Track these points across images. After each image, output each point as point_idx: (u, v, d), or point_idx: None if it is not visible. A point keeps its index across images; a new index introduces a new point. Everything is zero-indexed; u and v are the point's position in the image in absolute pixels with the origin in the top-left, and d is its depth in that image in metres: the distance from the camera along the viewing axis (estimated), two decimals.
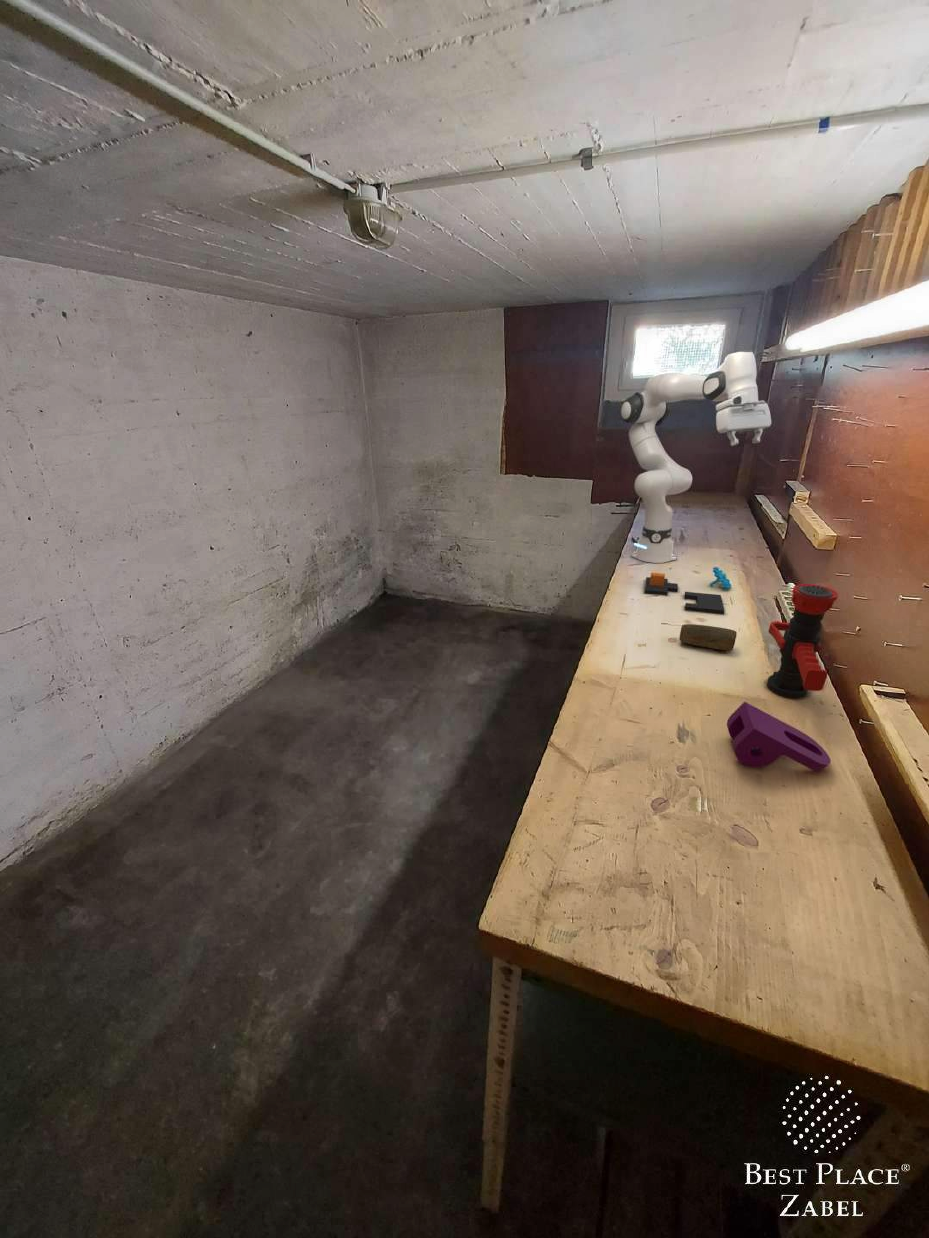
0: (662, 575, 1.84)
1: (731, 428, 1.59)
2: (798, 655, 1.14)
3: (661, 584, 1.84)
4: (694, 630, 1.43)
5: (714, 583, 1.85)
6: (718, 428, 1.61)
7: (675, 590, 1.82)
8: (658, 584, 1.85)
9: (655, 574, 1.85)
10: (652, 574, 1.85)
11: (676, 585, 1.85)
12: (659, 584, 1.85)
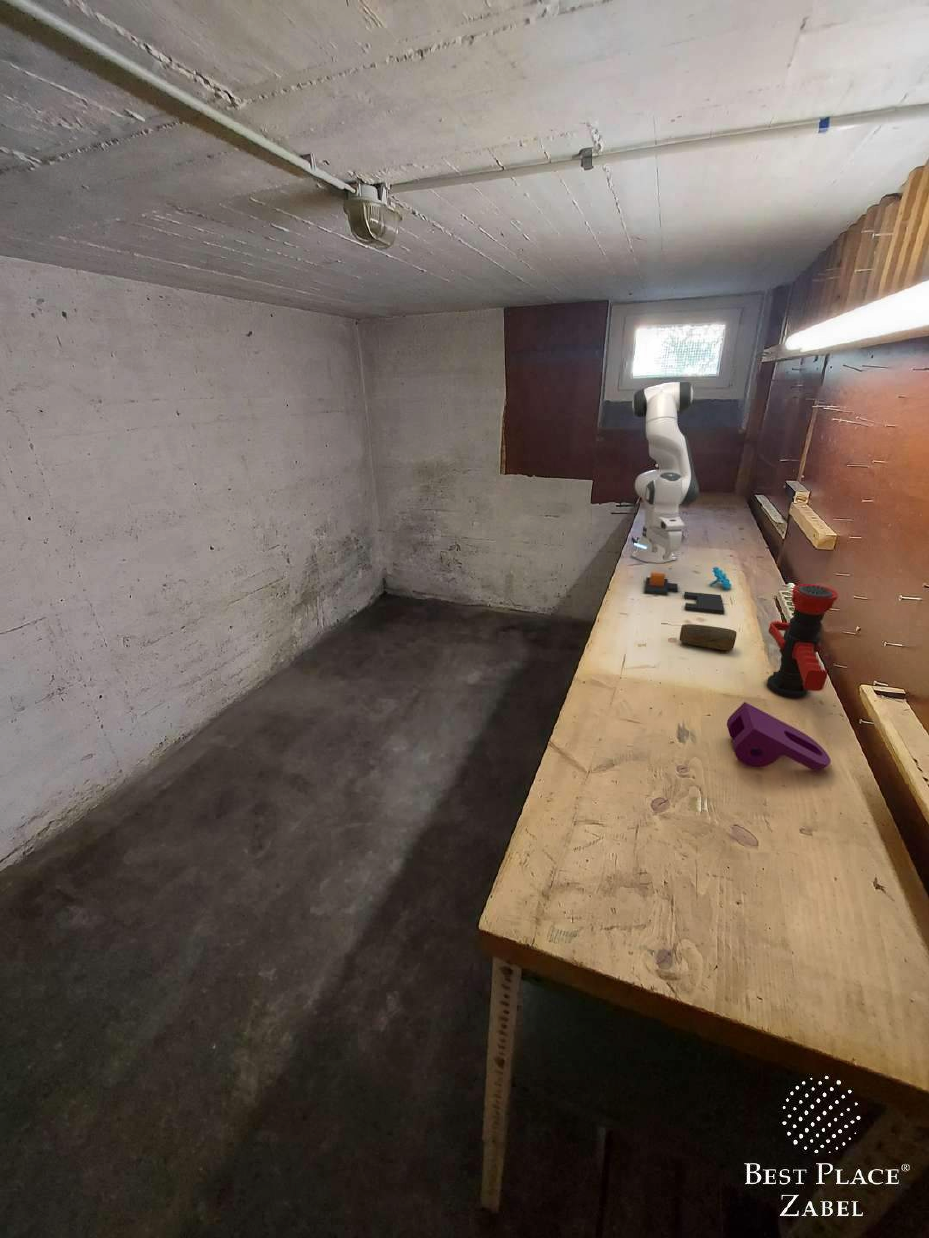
0: (662, 575, 1.84)
1: None
2: (798, 655, 1.14)
3: (661, 584, 1.84)
4: (694, 630, 1.43)
5: (714, 583, 1.85)
6: (672, 548, 1.70)
7: (675, 590, 1.82)
8: (658, 584, 1.85)
9: (655, 574, 1.85)
10: (652, 574, 1.85)
11: (676, 585, 1.85)
12: (659, 584, 1.85)
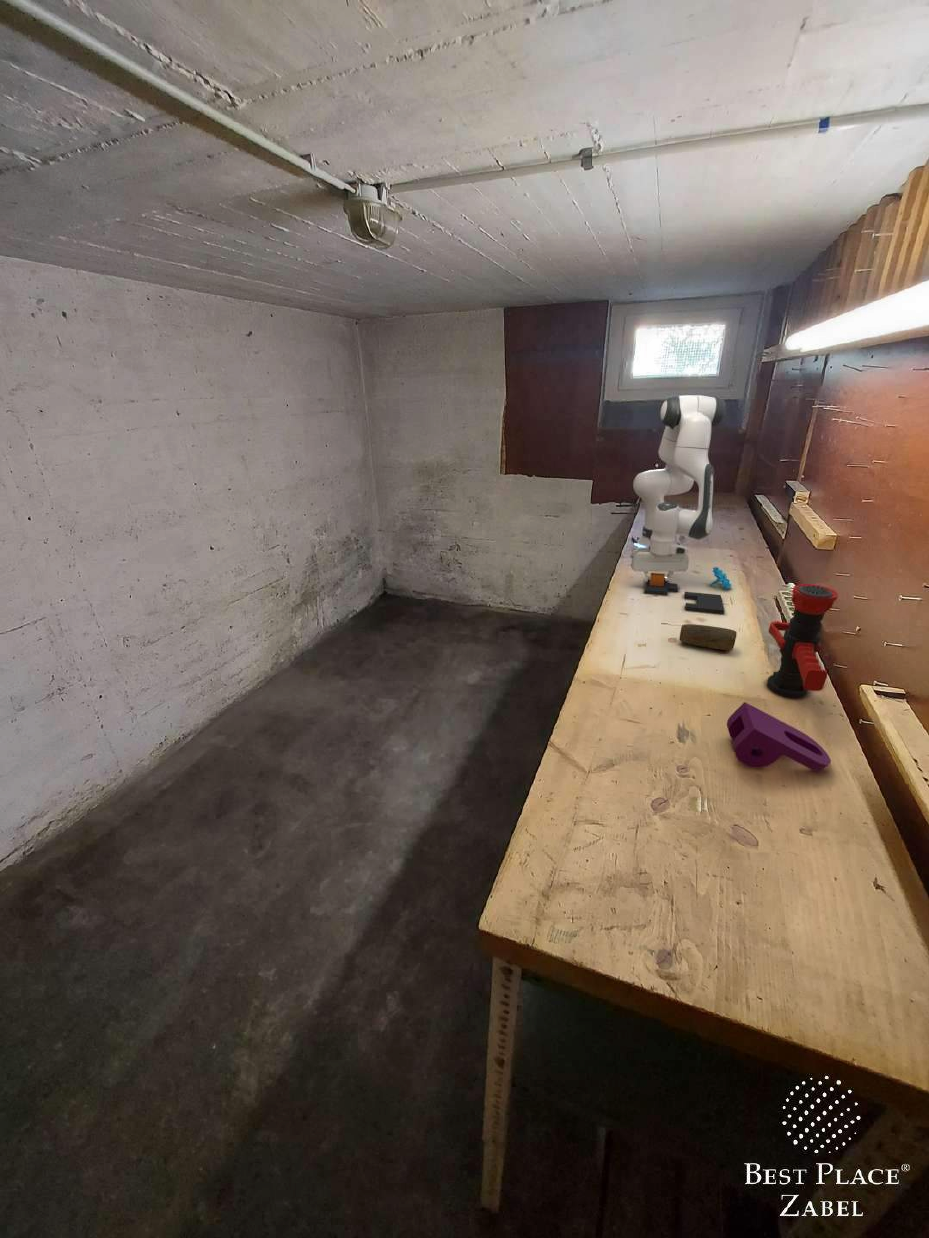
0: (662, 575, 1.84)
1: None
2: (798, 655, 1.14)
3: (661, 584, 1.84)
4: (694, 630, 1.43)
5: (714, 583, 1.85)
6: None
7: (675, 590, 1.82)
8: (658, 584, 1.85)
9: (655, 574, 1.85)
10: (652, 574, 1.85)
11: (676, 585, 1.85)
12: (659, 584, 1.85)
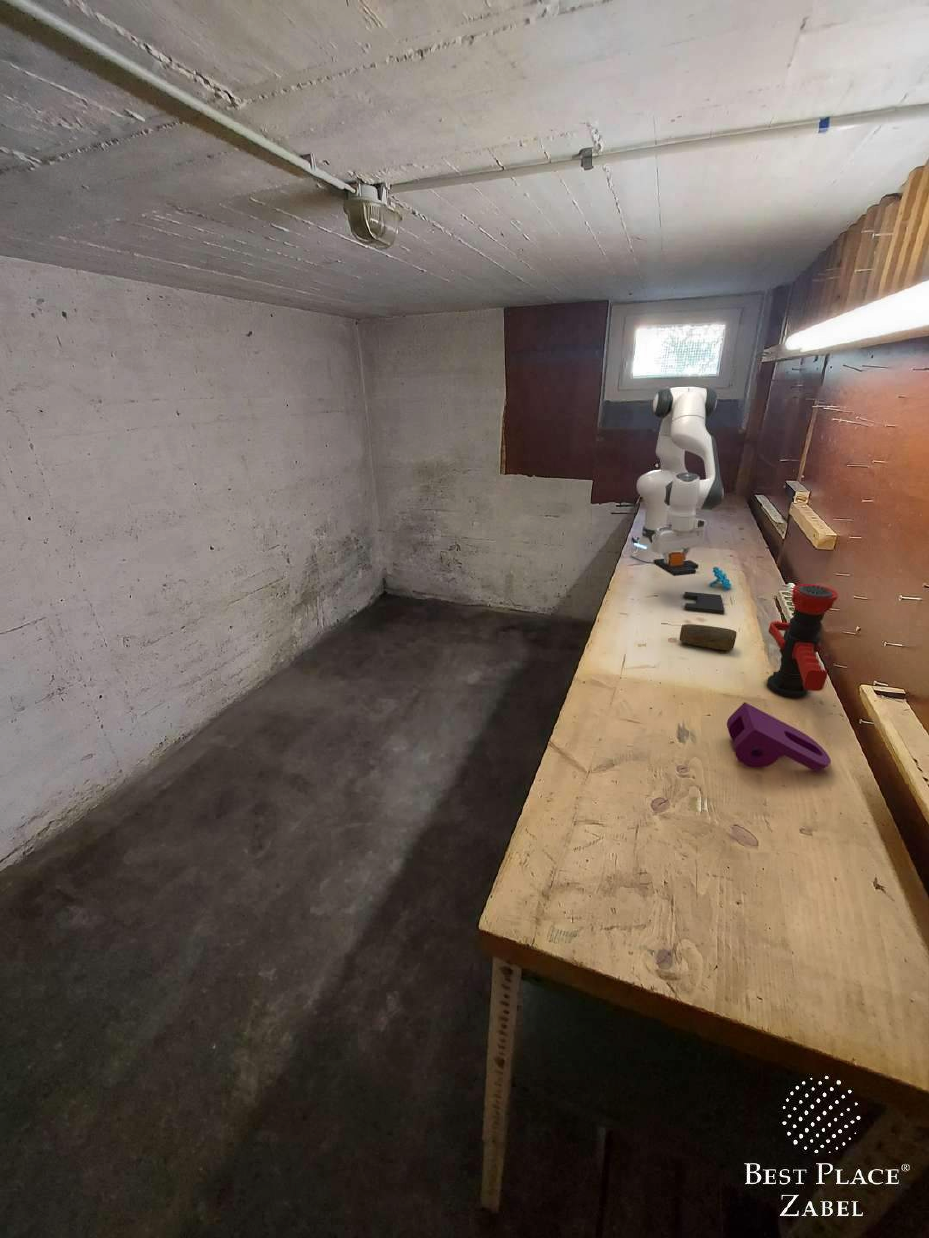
0: (681, 553, 1.69)
1: None
2: (798, 655, 1.14)
3: (681, 563, 1.70)
4: (694, 630, 1.43)
5: (714, 583, 1.85)
6: None
7: (696, 567, 1.70)
8: (678, 564, 1.69)
9: (673, 554, 1.69)
10: (671, 554, 1.69)
11: (692, 562, 1.72)
12: (679, 564, 1.69)
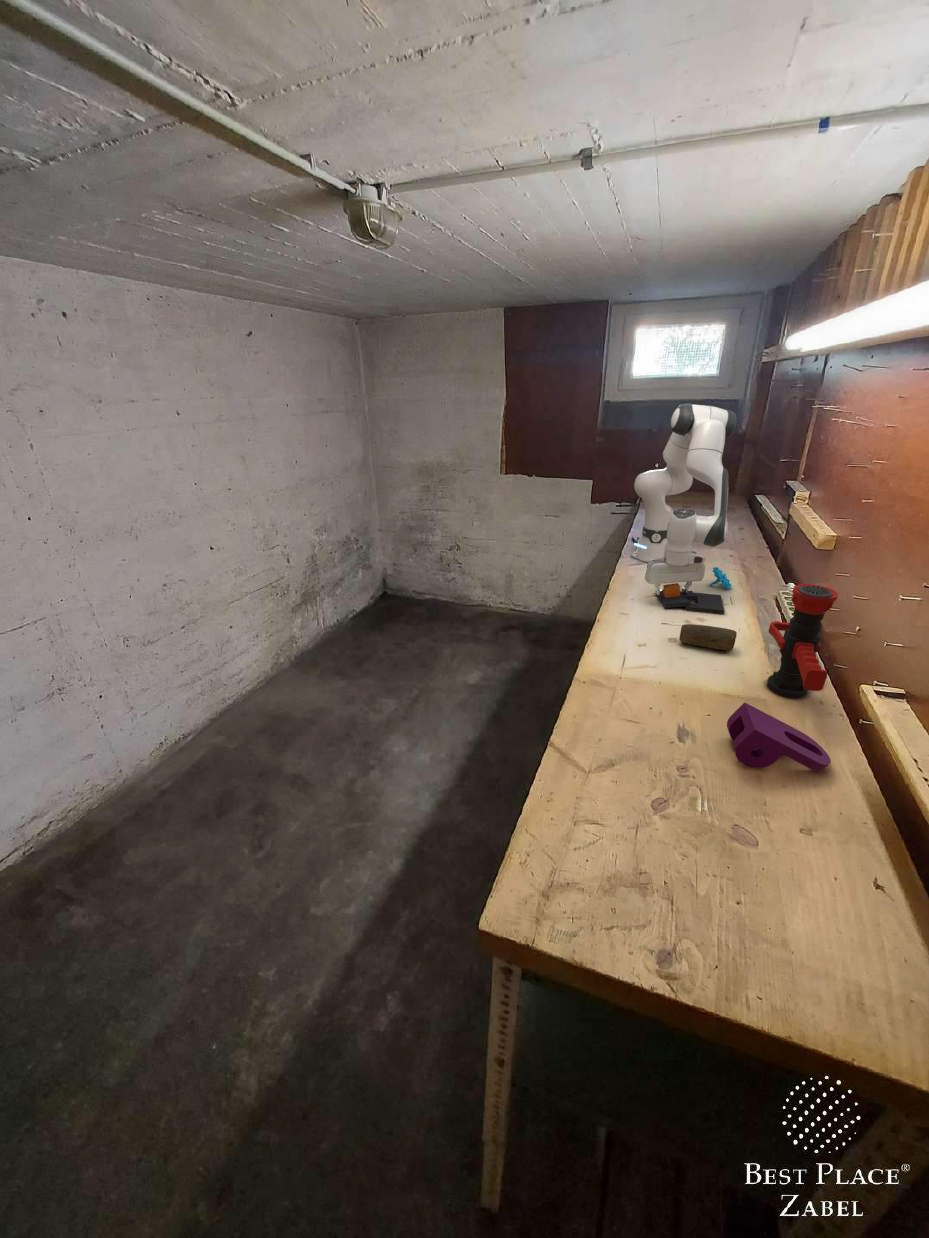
0: (676, 585, 1.72)
1: None
2: (798, 655, 1.14)
3: (677, 594, 1.72)
4: (694, 630, 1.43)
5: (714, 583, 1.85)
6: None
7: (694, 598, 1.71)
8: (674, 595, 1.73)
9: (669, 585, 1.73)
10: (666, 586, 1.73)
11: (692, 592, 1.73)
12: (675, 595, 1.73)
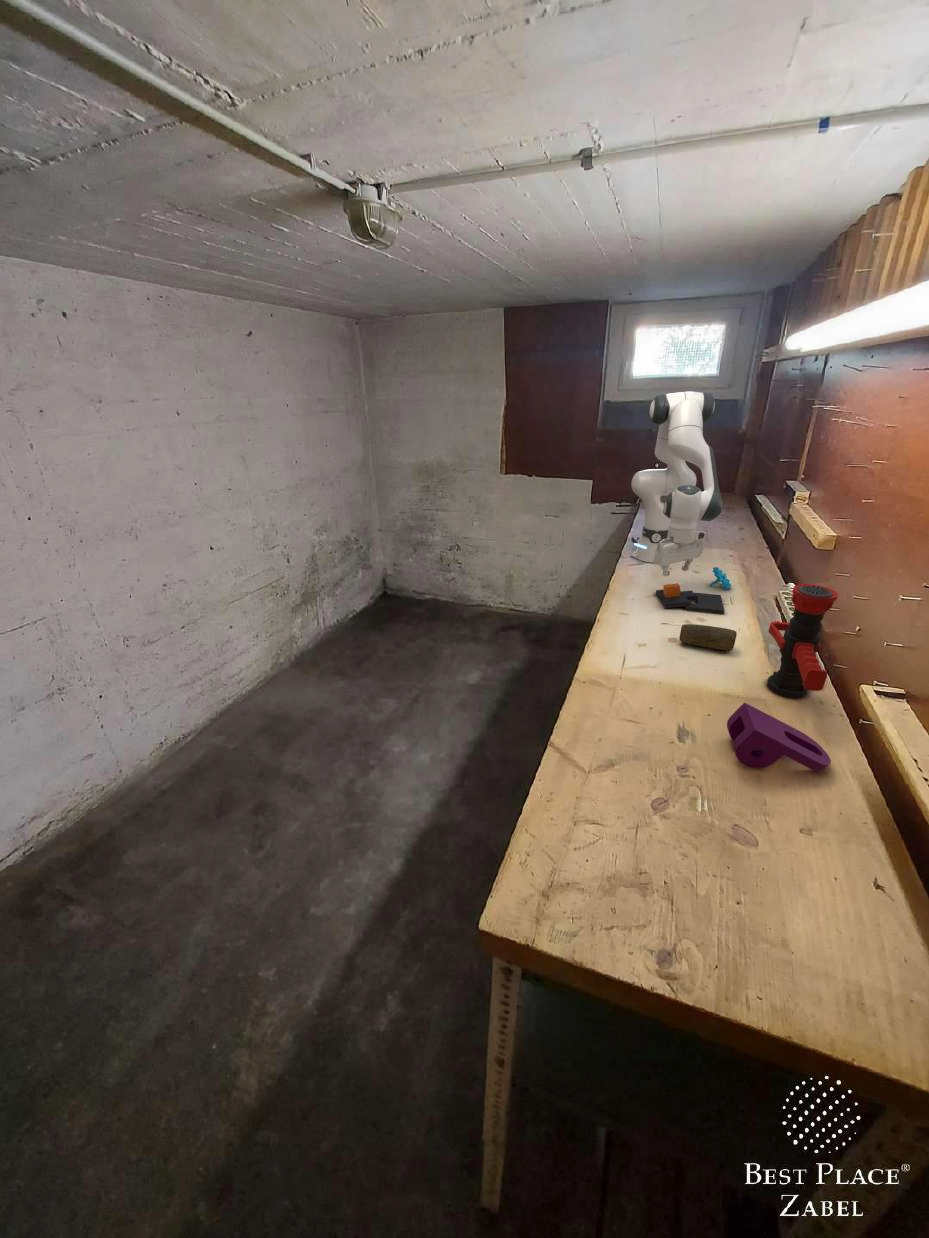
0: (676, 585, 1.72)
1: None
2: (798, 655, 1.14)
3: (677, 594, 1.72)
4: (694, 630, 1.43)
5: (714, 583, 1.85)
6: None
7: (694, 598, 1.71)
8: (674, 595, 1.73)
9: (669, 585, 1.73)
10: (666, 586, 1.73)
11: (692, 592, 1.73)
12: (675, 595, 1.73)
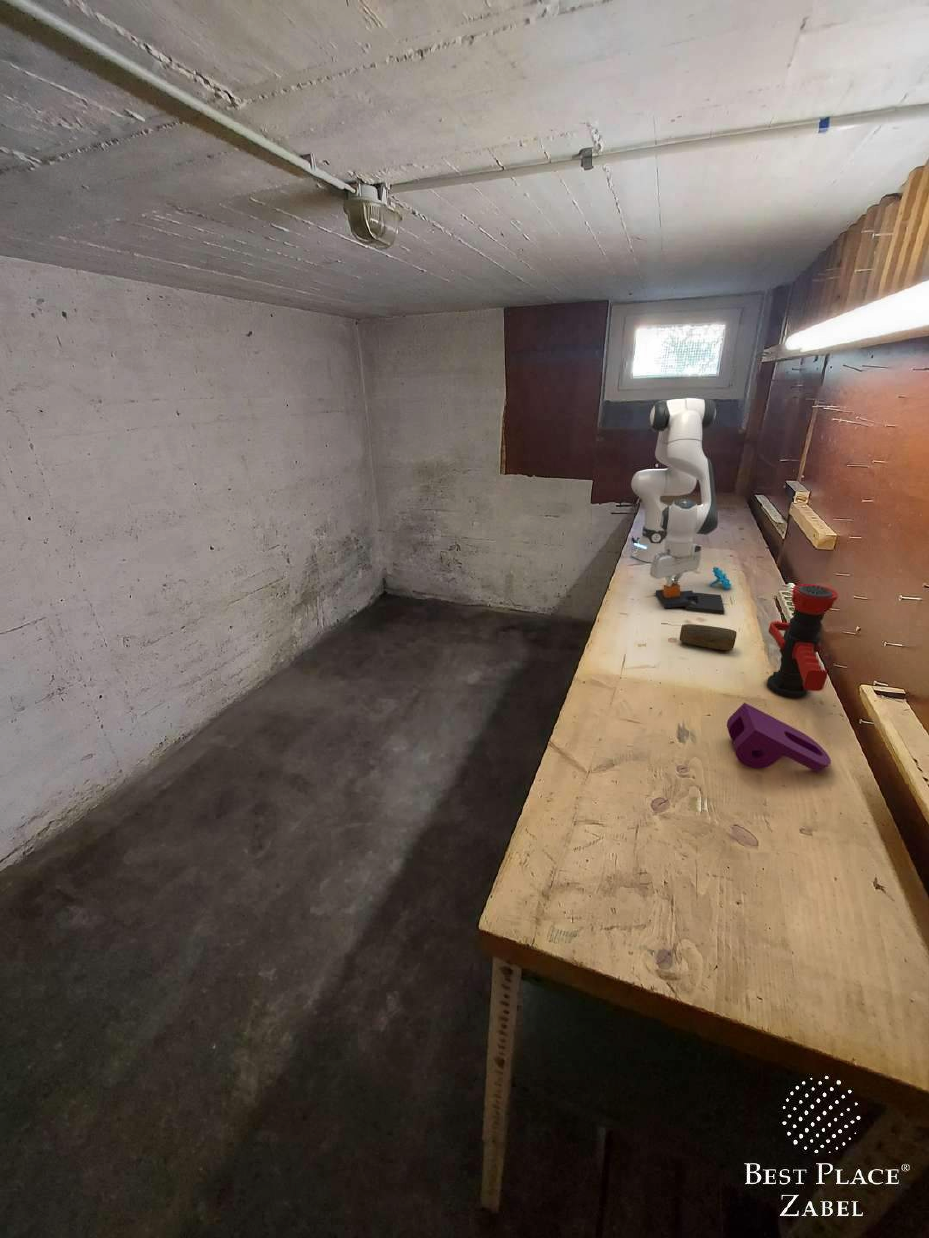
0: (676, 585, 1.72)
1: None
2: (798, 655, 1.14)
3: (677, 594, 1.72)
4: (694, 630, 1.43)
5: (714, 583, 1.85)
6: None
7: (694, 597, 1.71)
8: (674, 595, 1.73)
9: None
10: (666, 586, 1.73)
11: (692, 592, 1.73)
12: (675, 595, 1.73)
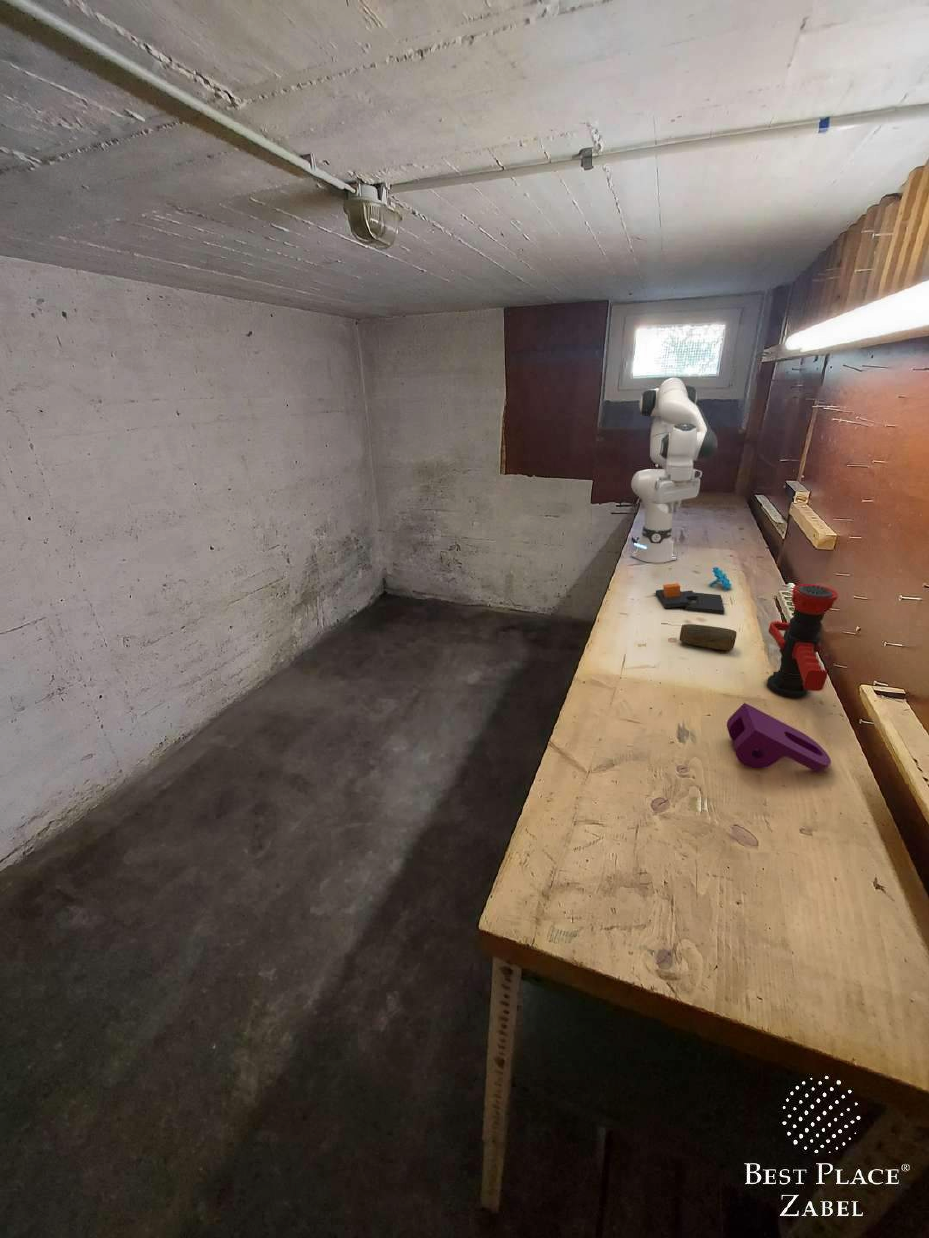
0: (676, 585, 1.72)
1: None
2: (798, 655, 1.14)
3: (677, 594, 1.72)
4: (694, 630, 1.43)
5: (714, 583, 1.85)
6: None
7: (694, 598, 1.71)
8: (674, 595, 1.73)
9: (669, 585, 1.73)
10: (666, 586, 1.73)
11: (692, 592, 1.73)
12: (675, 595, 1.73)
